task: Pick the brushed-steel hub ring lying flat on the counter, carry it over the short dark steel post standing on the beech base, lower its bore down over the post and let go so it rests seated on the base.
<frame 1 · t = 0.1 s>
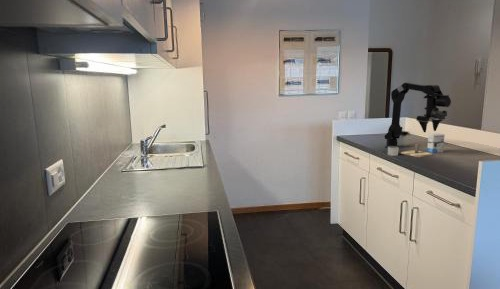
hand: (429, 131, 219), 15 cm above the worktop, fingers open, 9 cm apart
ink box: (435, 152, 229), on the worktop
shaft block: (416, 154, 224), on the worktop
hub: (392, 154, 225), on the worktop
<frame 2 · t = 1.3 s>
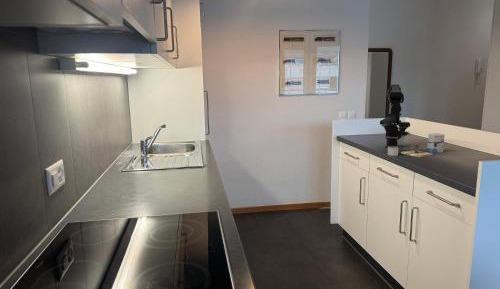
hand: (393, 137, 223), 11 cm above the worktop, fingers open, 9 cm apart
nothing on the worktop moved.
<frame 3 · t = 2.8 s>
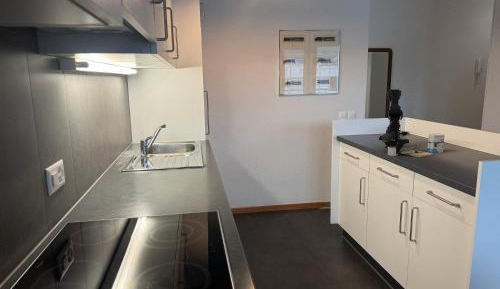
hand: (392, 153, 224), 1 cm above the worktop, fingers closed on hub, 6 cm apart
hub: (392, 154, 225), on the worktop, touching gripper
everything else where it was.
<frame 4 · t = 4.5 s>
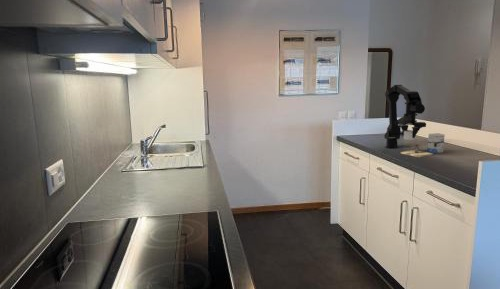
hand: (409, 137, 222), 11 cm above the worktop, fingers closed on hub, 6 cm apart
hub: (409, 138, 223), point 10 cm above the worktop, touching gripper
everything else where it was.
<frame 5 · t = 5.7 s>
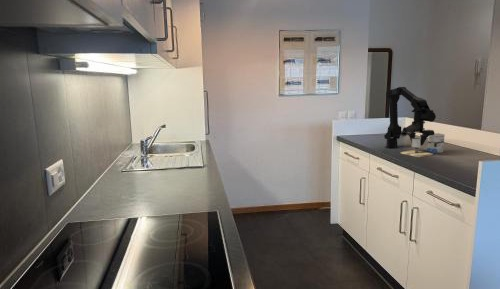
hand: (417, 144, 223), 6 cm above the worktop, fingers closed on hub, 6 cm apart
hub: (416, 146, 224), point 5 cm above the worktop, touching gripper
everything else where it was.
when the fingers open (3 cm above the worktop, at t = 6.7 s): hub drops 1 cm, resting on shaft block.
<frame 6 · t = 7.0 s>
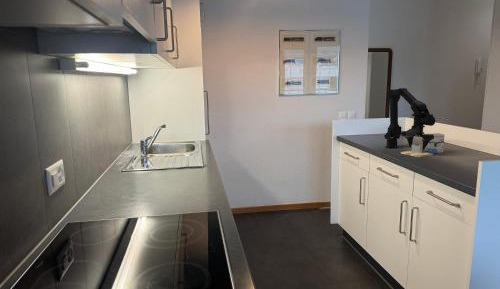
hand: (416, 148, 224), 3 cm above the worktop, fingers open, 9 cm apart
hub: (416, 152, 224), point 1 cm above the worktop, touching shaft block
everything else where it was.
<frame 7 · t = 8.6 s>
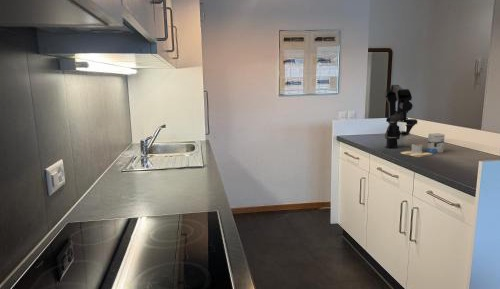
hand: (400, 134, 226), 12 cm above the worktop, fingers open, 9 cm apart
nothing on the worktop moved.
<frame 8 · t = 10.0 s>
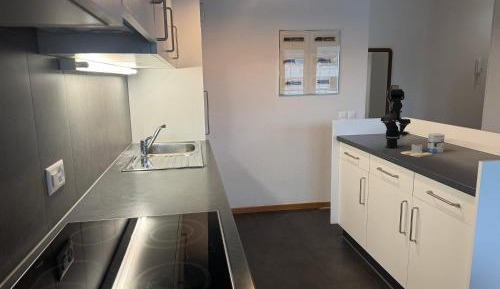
hand: (394, 133, 227), 13 cm above the worktop, fingers open, 9 cm apart
nothing on the worktop moved.
at the end: hub 0.1 cm off-centre on the shaft block, point 1.0 cm above the shaft block's base; hub tilted 0°; the gripper is holding nothing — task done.
